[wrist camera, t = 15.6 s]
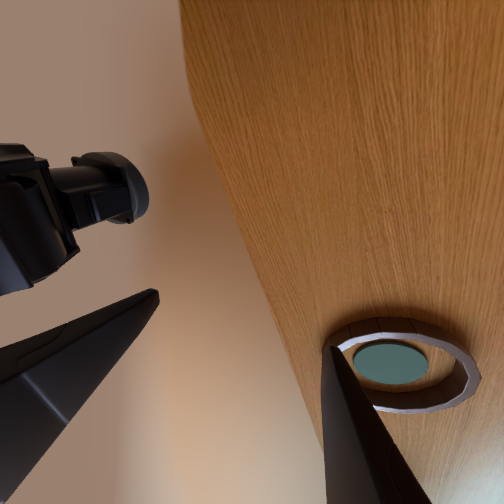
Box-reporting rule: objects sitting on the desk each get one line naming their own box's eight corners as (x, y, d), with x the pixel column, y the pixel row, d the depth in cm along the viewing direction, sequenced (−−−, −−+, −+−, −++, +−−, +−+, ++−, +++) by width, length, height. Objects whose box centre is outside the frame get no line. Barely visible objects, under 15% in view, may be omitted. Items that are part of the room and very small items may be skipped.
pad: (343, 368, 27) (343, 371, 27) (369, 333, 23) (370, 336, 23) (403, 388, 26) (405, 391, 26) (442, 354, 22) (444, 358, 22)
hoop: (308, 372, 29) (308, 386, 28) (349, 301, 22) (353, 314, 20) (415, 409, 27) (423, 426, 26) (505, 345, 19) (524, 364, 18)
